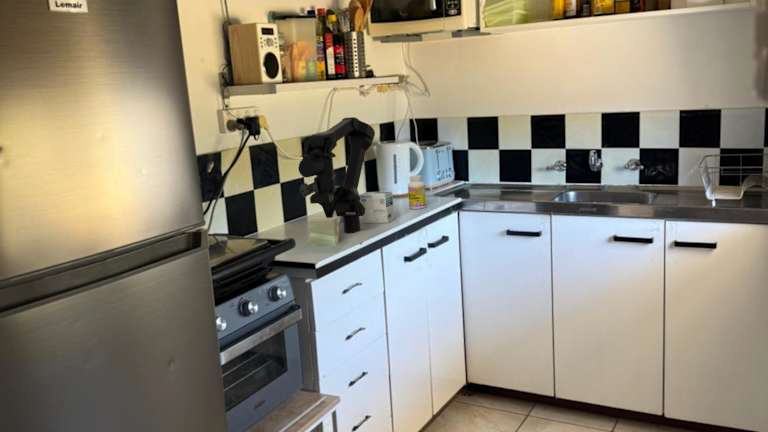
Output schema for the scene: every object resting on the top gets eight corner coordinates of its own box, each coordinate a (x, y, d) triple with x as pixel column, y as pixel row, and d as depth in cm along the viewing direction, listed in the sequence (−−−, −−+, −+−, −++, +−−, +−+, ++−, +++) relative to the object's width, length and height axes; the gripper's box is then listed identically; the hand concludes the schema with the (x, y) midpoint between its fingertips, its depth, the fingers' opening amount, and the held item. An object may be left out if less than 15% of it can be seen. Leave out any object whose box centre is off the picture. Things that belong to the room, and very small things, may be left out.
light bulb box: (395, 219, 265) (392, 190, 263) (387, 223, 259) (385, 193, 257) (369, 219, 269) (366, 191, 267) (361, 223, 263) (358, 194, 261)
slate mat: (308, 245, 232) (307, 242, 232) (349, 243, 230) (349, 240, 230) (292, 256, 217) (292, 254, 217) (337, 255, 214) (336, 252, 214)
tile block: (315, 242, 231) (313, 218, 229) (339, 241, 229) (337, 217, 228) (311, 246, 226) (308, 221, 225) (335, 245, 224) (333, 220, 223)
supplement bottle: (406, 209, 285) (404, 177, 282) (413, 206, 290) (411, 175, 288) (421, 209, 281) (419, 177, 279) (428, 206, 287) (426, 174, 285)
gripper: (309, 170, 241) (314, 216, 244) (291, 178, 223) (297, 227, 226) (341, 168, 239) (345, 215, 242) (326, 176, 221) (331, 225, 224)
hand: (329, 220), depth 233 cm, fingers closed
